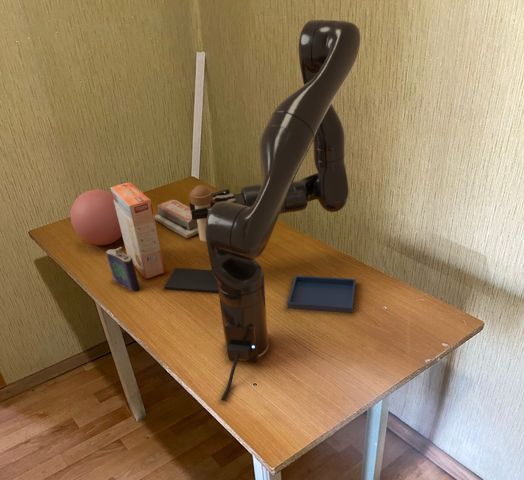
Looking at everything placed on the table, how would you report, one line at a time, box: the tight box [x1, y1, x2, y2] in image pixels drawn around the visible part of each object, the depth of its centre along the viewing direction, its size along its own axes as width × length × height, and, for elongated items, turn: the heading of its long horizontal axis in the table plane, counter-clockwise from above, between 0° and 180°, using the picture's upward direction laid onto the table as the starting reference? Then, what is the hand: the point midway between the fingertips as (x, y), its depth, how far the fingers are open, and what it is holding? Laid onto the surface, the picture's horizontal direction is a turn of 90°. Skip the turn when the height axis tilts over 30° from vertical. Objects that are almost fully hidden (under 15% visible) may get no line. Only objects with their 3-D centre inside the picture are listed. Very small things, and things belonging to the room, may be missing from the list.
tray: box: [286, 274, 357, 314], centre depth 128 cm, size 12×15×2 cm
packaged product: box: [153, 199, 199, 240], centre depth 160 cm, size 18×5×10 cm
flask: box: [105, 246, 141, 292], centre depth 134 cm, size 9×3×11 cm, turn 50°
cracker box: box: [110, 181, 166, 280], centre depth 137 cm, size 14×6×21 cm, turn 31°
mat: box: [164, 267, 219, 294], centre depth 136 cm, size 9×20×1 cm, turn 78°
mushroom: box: [189, 184, 214, 243], centre depth 124 cm, size 5×5×13 cm
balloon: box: [70, 188, 123, 246], centre depth 152 cm, size 15×20×15 cm
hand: (191, 211), depth 123 cm, fingers closed on mushroom, 3 cm apart
